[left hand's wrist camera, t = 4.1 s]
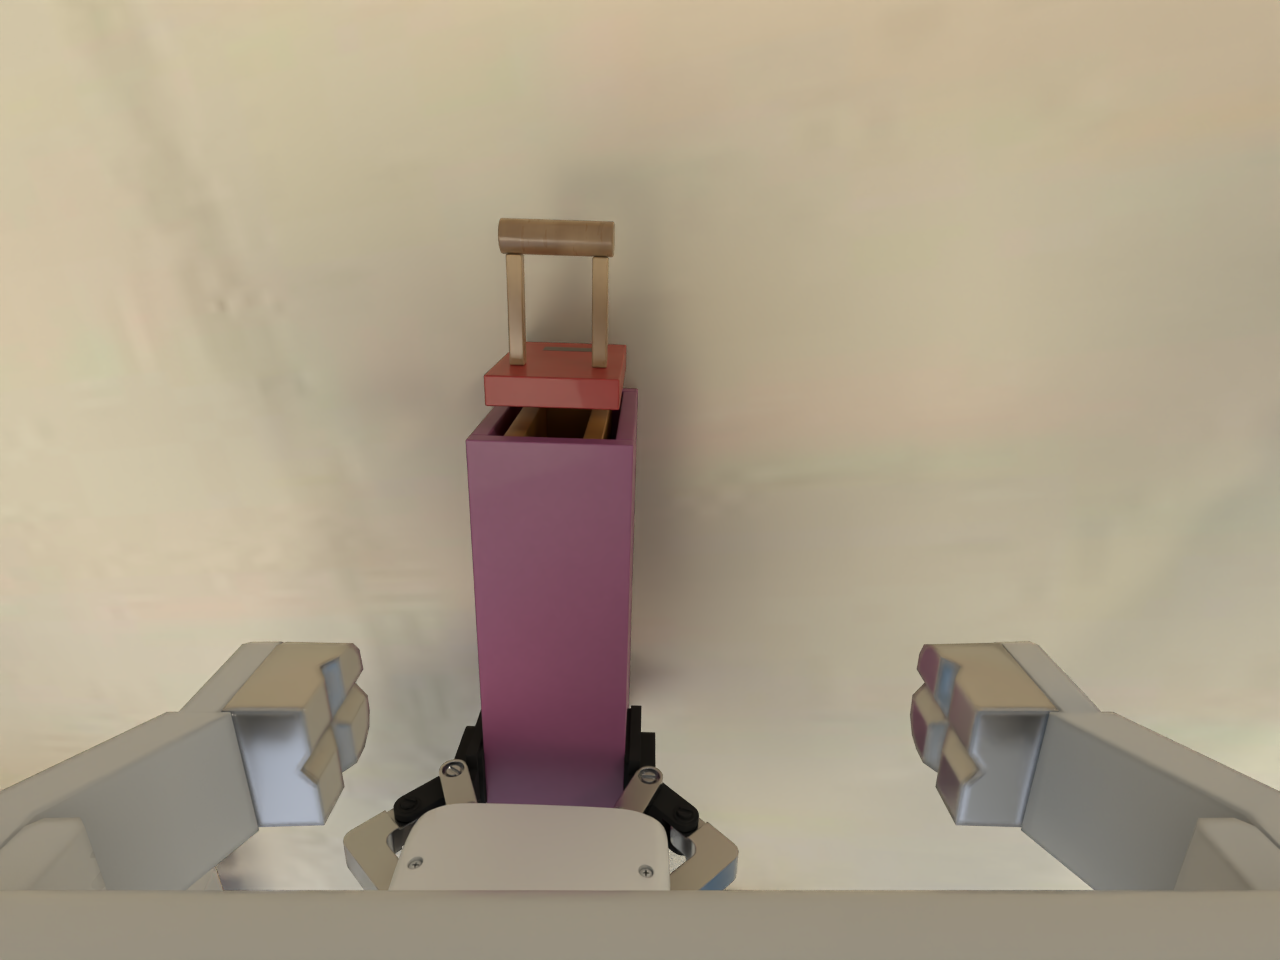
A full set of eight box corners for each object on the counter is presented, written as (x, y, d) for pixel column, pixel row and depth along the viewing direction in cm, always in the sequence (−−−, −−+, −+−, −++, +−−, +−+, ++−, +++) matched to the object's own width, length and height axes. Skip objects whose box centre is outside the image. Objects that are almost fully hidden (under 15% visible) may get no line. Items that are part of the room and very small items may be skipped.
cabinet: (511, 384, 35) (465, 439, 27) (637, 388, 35) (633, 445, 27) (522, 705, 42) (488, 834, 33) (628, 709, 42) (622, 839, 33)
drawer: (515, 217, 32) (476, 217, 25) (629, 221, 32) (622, 222, 25) (528, 667, 40) (501, 765, 33) (619, 670, 40) (612, 769, 33)
